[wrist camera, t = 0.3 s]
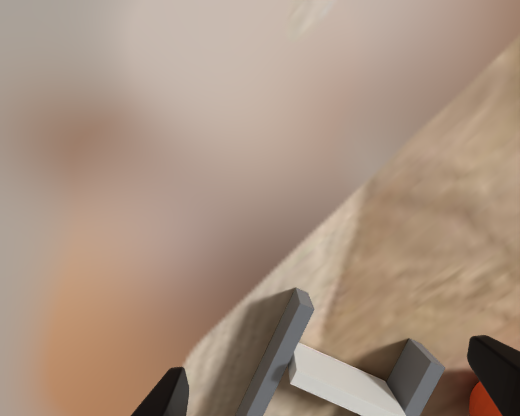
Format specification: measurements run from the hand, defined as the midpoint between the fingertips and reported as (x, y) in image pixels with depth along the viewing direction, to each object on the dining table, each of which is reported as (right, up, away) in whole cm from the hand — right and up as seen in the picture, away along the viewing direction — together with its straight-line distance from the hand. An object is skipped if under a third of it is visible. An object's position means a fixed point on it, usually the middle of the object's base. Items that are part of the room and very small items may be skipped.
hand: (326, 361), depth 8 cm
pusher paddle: (+5, -9, +16) cm, 19 cm away
